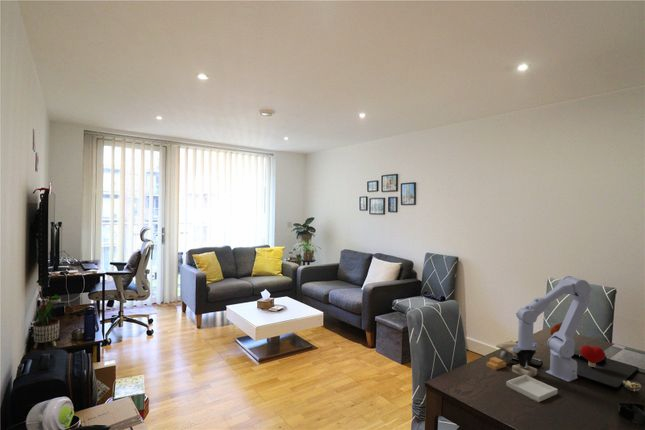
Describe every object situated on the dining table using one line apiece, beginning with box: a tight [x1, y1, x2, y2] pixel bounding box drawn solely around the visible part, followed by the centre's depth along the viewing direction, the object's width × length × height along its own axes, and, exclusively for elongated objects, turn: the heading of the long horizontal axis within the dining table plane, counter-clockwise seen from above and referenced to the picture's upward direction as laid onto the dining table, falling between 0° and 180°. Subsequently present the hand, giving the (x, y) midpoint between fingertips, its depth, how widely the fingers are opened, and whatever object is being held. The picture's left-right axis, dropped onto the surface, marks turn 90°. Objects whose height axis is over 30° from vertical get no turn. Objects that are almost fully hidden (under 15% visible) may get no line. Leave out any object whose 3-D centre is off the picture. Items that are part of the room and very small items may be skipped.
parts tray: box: [505, 375, 559, 403], centre depth 138 cm, size 13×13×2 cm
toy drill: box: [549, 322, 563, 354], centre depth 179 cm, size 5×19×15 cm, turn 126°
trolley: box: [496, 340, 518, 365], centre depth 164 cm, size 9×14×7 cm, turn 118°
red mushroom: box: [580, 344, 606, 368], centre depth 160 cm, size 9×7×10 cm
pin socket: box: [511, 363, 538, 378], centre depth 153 cm, size 7×7×2 cm
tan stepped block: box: [485, 356, 507, 371], centre depth 159 cm, size 8×4×4 cm, turn 118°
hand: (524, 365), depth 153 cm, fingers open, 3 cm apart
